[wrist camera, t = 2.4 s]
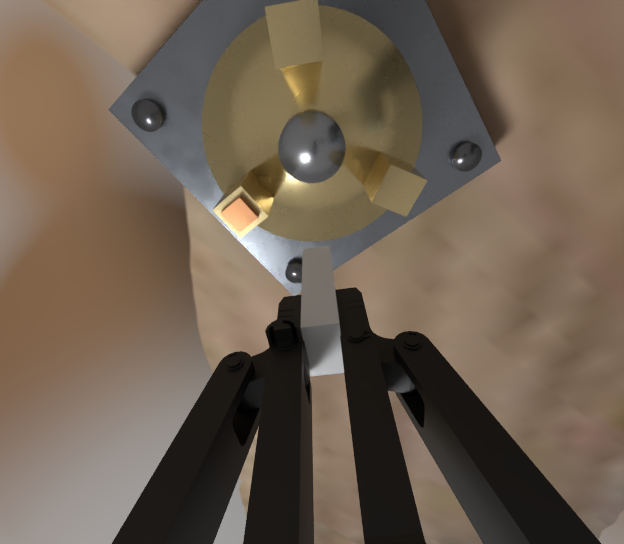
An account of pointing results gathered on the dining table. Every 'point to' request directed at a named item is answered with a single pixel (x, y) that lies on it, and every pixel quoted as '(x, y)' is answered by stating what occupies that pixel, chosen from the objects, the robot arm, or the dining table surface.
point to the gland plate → (192, 87)
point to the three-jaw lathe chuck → (312, 125)
